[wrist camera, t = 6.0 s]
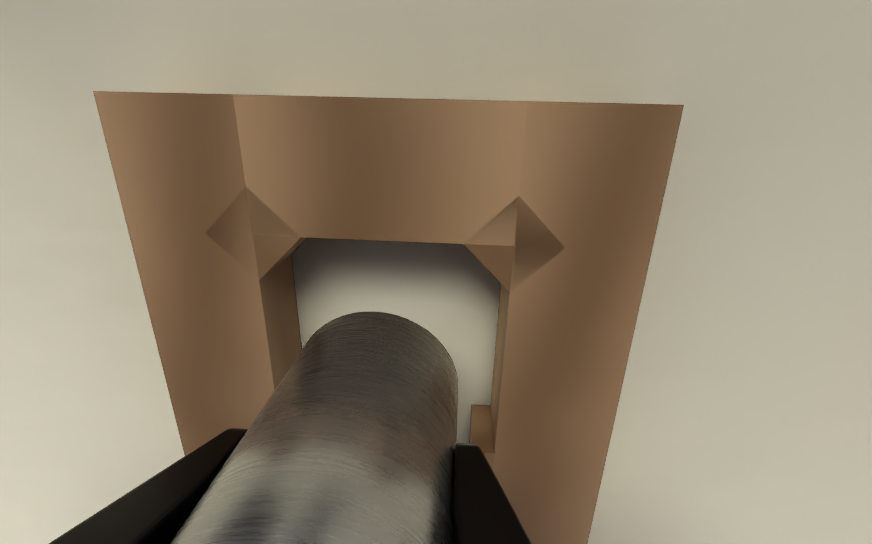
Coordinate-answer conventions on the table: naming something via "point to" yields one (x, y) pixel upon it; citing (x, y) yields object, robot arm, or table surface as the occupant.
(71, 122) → the table surface
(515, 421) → the keyhole board
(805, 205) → the table surface
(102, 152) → the table surface
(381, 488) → the peg
